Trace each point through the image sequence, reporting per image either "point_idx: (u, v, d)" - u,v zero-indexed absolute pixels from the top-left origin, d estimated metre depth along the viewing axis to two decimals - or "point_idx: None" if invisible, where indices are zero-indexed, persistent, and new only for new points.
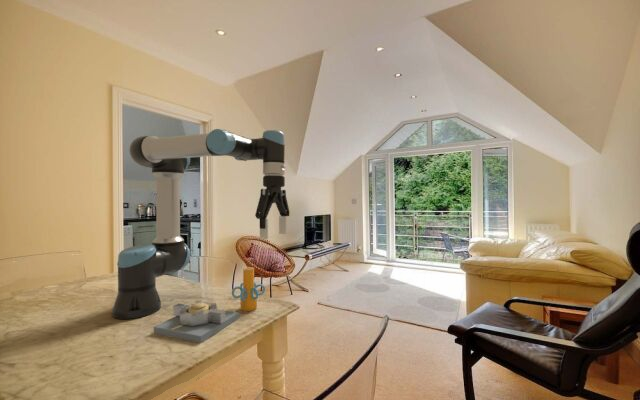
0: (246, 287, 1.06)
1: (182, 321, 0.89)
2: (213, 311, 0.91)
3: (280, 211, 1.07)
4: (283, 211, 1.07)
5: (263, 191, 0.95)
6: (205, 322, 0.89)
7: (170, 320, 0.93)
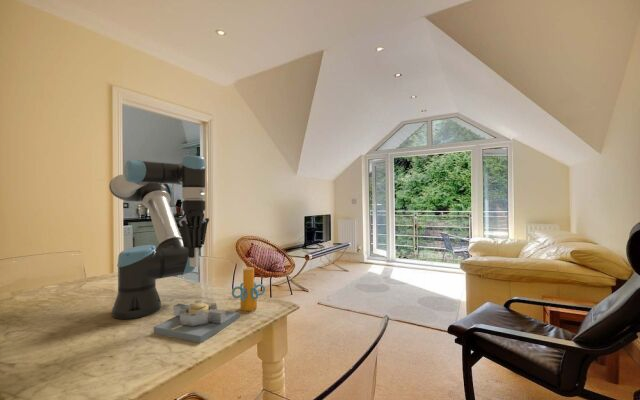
0: (246, 287, 1.06)
1: (182, 321, 0.89)
2: (213, 311, 0.91)
3: None
4: (197, 240, 1.03)
5: (180, 223, 0.97)
6: (205, 322, 0.89)
7: (170, 320, 0.93)
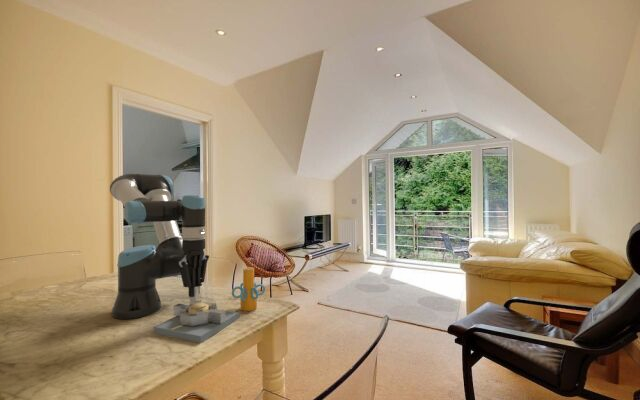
0: (246, 287, 1.06)
1: (182, 321, 0.89)
2: (213, 311, 0.91)
3: None
4: (197, 278, 1.03)
5: (180, 265, 0.97)
6: (205, 322, 0.89)
7: (170, 320, 0.93)
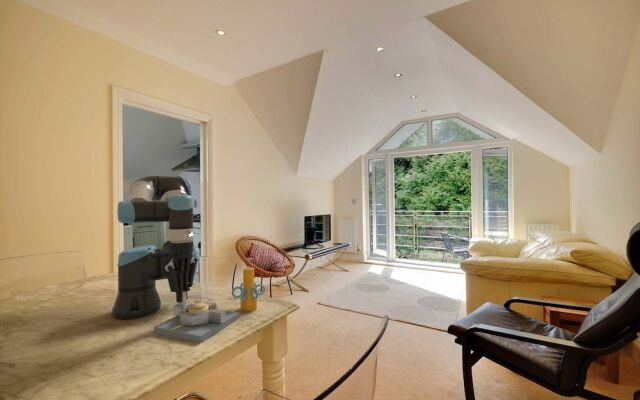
0: (246, 287, 1.06)
1: (182, 321, 0.89)
2: (213, 311, 0.91)
3: None
4: (184, 283, 0.97)
5: (166, 269, 0.91)
6: (205, 322, 0.89)
7: (170, 320, 0.93)
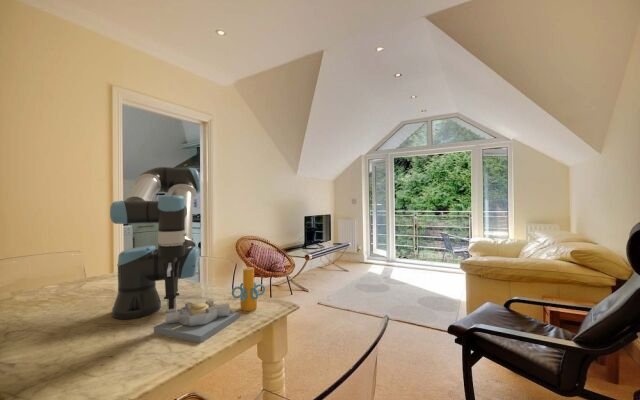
0: (246, 287, 1.06)
1: (193, 322, 0.88)
2: (219, 306, 0.95)
3: None
4: None
5: (168, 274, 0.86)
6: (215, 317, 0.93)
7: None
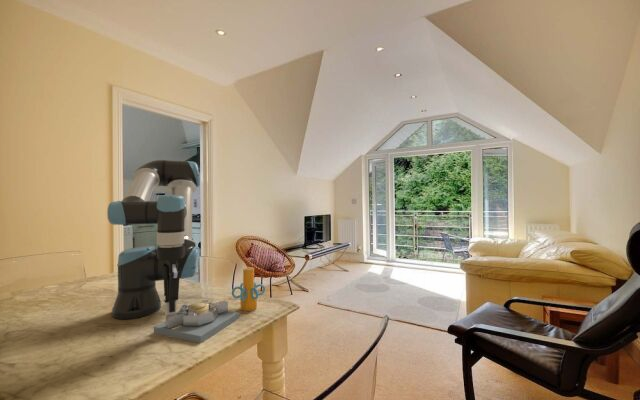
0: (246, 287, 1.06)
1: (201, 321, 0.89)
2: (218, 303, 0.98)
3: None
4: None
5: (175, 275, 0.84)
6: (217, 314, 0.95)
7: None
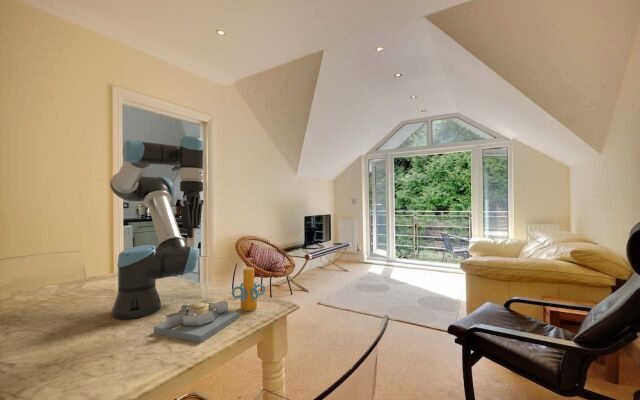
0: (246, 287, 1.06)
1: (201, 321, 0.89)
2: (218, 303, 0.98)
3: None
4: (194, 220, 1.04)
5: (182, 203, 0.97)
6: (217, 314, 0.95)
7: None
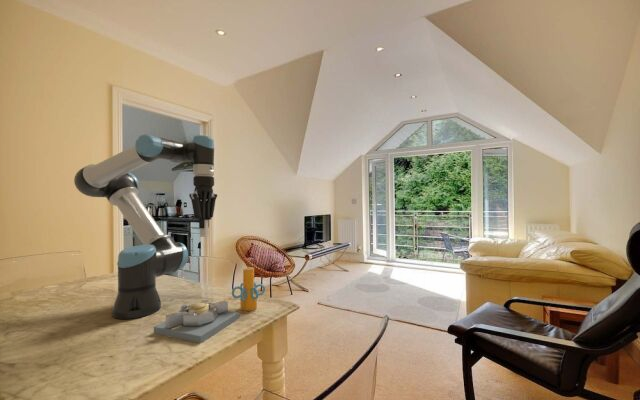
0: (246, 287, 1.06)
1: (201, 321, 0.89)
2: (218, 303, 0.98)
3: None
4: (206, 212, 1.13)
5: (192, 196, 1.07)
6: (217, 314, 0.95)
7: None
